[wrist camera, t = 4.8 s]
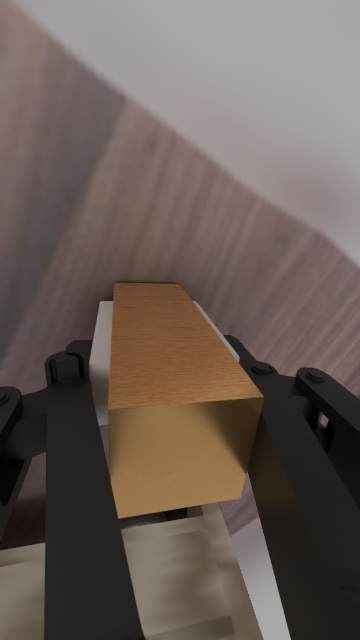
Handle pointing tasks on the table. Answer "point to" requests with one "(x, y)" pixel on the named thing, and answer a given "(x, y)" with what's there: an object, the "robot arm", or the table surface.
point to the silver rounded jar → (142, 520)
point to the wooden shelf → (150, 582)
